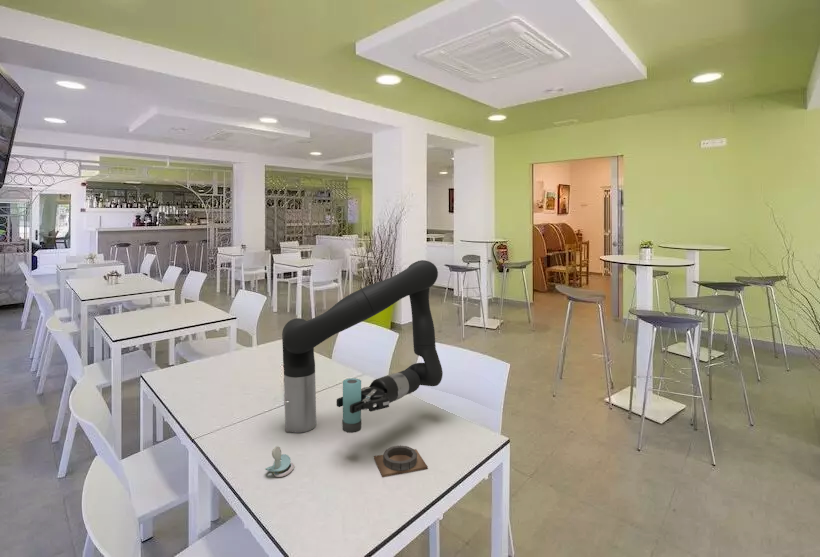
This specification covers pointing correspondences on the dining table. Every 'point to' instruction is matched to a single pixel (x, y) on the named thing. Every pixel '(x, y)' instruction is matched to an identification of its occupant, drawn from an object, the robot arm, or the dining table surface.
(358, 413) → the teal cylinder
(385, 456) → the socket
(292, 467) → the pacifier
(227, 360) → the dining table surface
